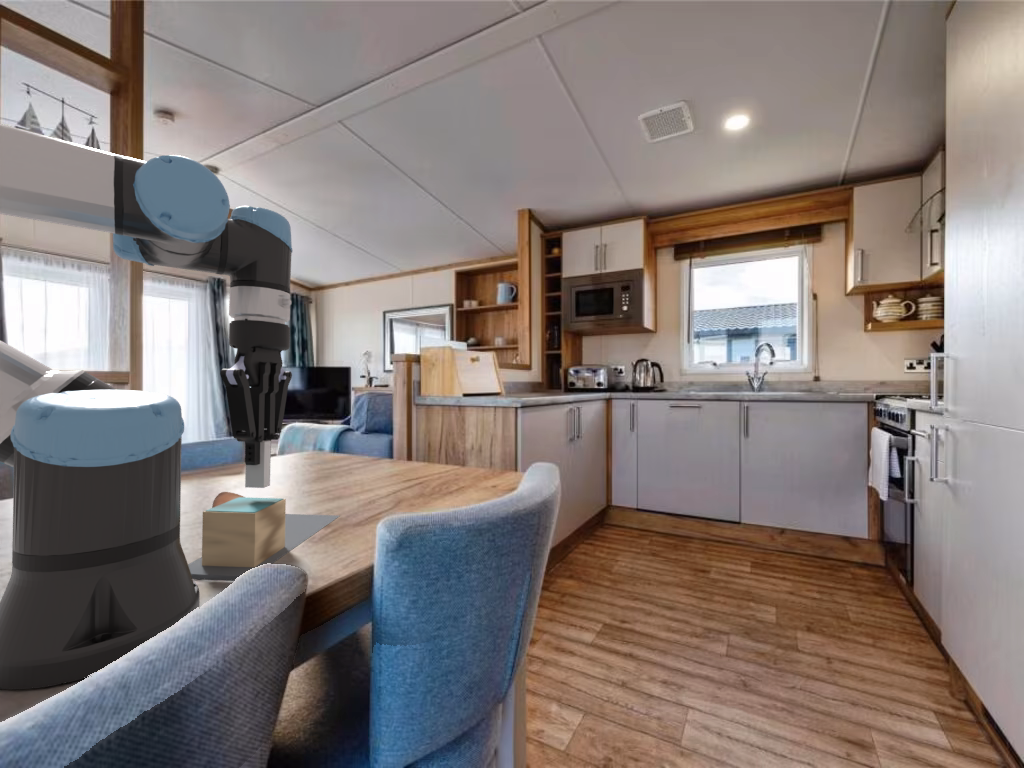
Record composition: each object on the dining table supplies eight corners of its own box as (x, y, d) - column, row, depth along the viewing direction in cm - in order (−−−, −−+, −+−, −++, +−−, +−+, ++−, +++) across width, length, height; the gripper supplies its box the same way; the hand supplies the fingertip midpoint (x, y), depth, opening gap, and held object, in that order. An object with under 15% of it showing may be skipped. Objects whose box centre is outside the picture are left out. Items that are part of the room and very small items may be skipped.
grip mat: (253, 581, 53) (253, 576, 53) (170, 578, 54) (170, 573, 54) (340, 518, 78) (340, 515, 78) (283, 517, 78) (283, 513, 78)
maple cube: (285, 498, 63) (284, 546, 63) (238, 496, 63) (237, 545, 63) (255, 512, 56) (254, 567, 56) (202, 511, 56) (201, 565, 56)
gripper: (257, 315, 55) (254, 499, 55) (309, 328, 68) (306, 477, 68) (200, 314, 55) (197, 497, 56) (263, 327, 68) (260, 475, 69)
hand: (257, 486), depth 62 cm, fingers closed
